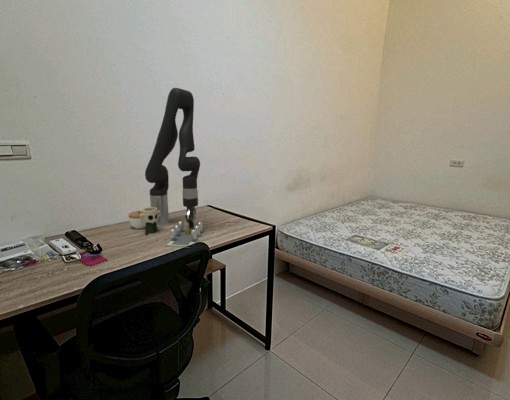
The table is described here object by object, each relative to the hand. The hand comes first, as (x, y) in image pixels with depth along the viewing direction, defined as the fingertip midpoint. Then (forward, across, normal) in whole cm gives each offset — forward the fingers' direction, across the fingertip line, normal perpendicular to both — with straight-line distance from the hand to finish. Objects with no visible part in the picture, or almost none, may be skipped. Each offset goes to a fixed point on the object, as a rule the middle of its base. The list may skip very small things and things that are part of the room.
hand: (191, 229), depth 152 cm
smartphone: (+3, +35, -33) cm, 48 cm away
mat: (+2, +10, 0) cm, 10 cm away
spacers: (+2, +8, 0) cm, 8 cm away
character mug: (+2, +3, -20) cm, 20 cm away
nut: (+1, +4, 0) cm, 4 cm away
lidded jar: (+2, -6, -30) cm, 31 cm away
